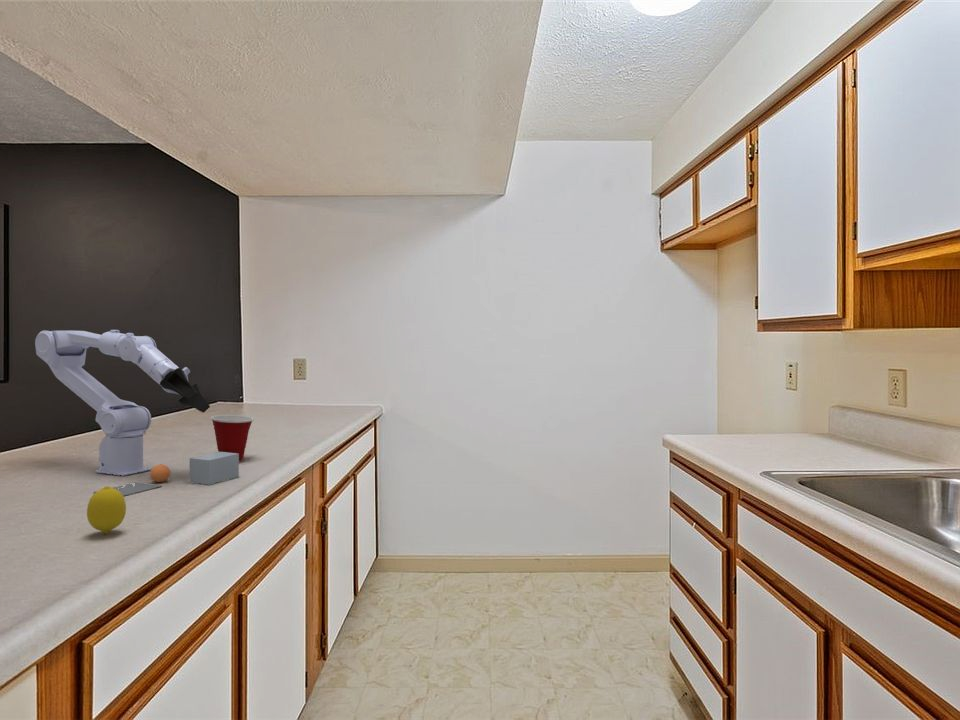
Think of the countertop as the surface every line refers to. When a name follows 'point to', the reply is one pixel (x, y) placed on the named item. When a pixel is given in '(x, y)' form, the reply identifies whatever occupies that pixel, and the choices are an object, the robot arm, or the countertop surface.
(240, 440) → the plastic cup
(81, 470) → the countertop surface
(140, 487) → the thin grey panel
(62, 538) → the countertop surface
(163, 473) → the ball
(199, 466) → the pale grey rectangular box
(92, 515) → the lemon
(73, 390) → the robot arm
